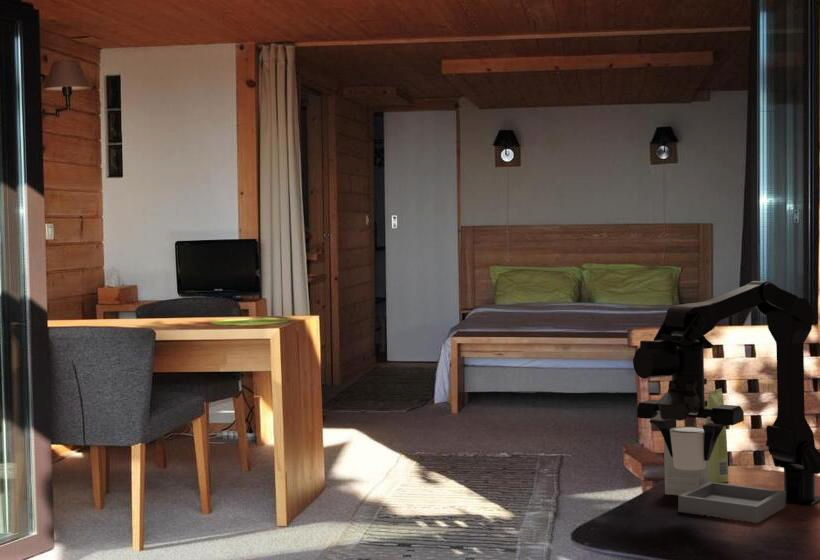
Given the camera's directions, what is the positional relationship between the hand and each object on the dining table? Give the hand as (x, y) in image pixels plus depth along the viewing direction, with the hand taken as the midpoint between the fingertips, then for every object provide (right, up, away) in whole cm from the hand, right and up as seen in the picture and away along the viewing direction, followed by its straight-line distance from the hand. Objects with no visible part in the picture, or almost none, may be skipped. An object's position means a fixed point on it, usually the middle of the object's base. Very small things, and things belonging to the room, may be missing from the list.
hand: (689, 458), depth 194 cm
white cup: (0, -2, 0) cm, 2 cm away
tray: (+10, -11, +6) cm, 15 cm away
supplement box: (+5, -11, +20) cm, 23 cm away
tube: (+14, -10, +31) cm, 35 cm away
